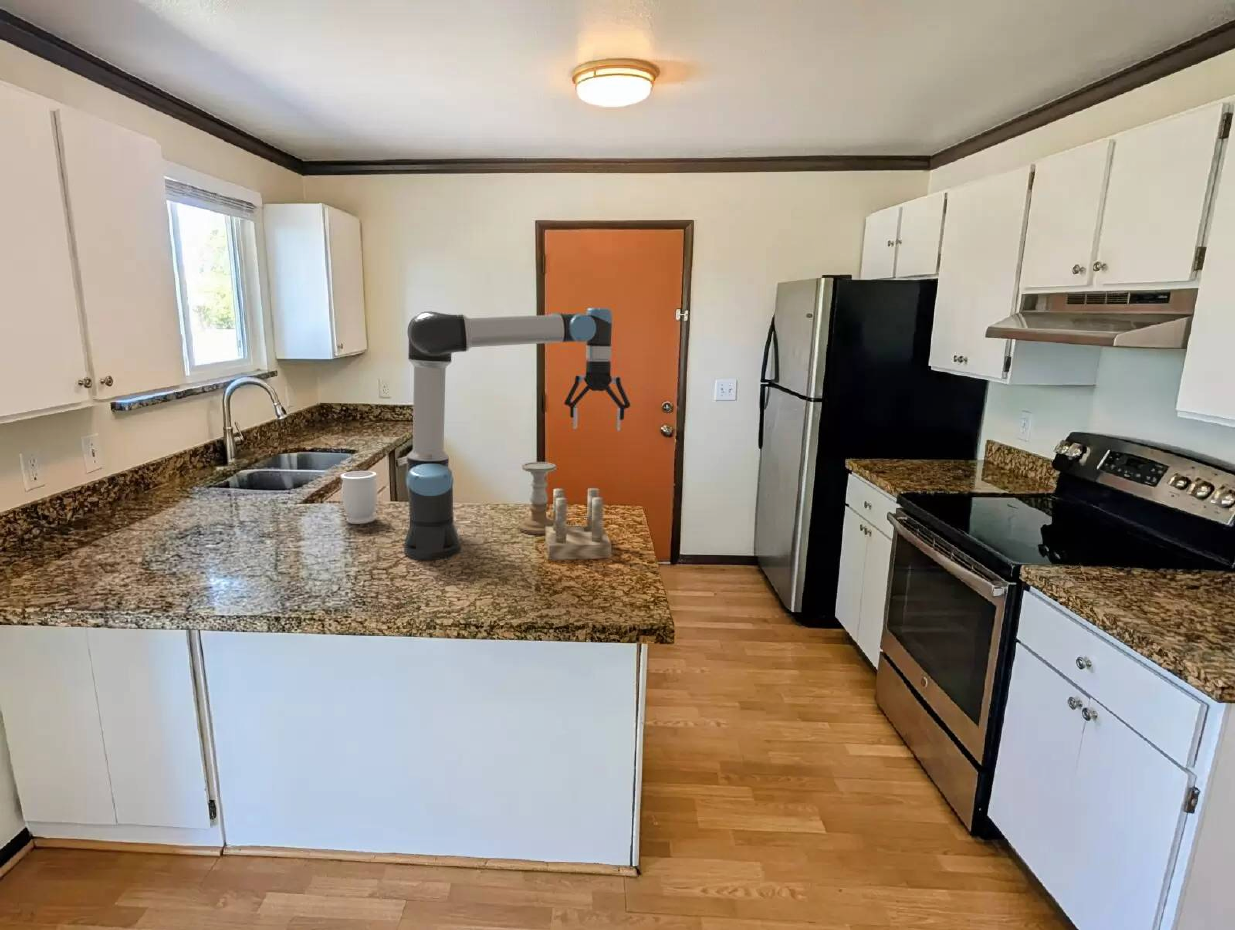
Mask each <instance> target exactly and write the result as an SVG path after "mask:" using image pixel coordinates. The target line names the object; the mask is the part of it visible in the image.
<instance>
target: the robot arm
mask: <svg viewBox="0 0 1235 930" xmlns="http://www.w3.org/2000/svg"><path fill="white" fill-rule="evenodd" d="M612 330H613V314H612V310H611V309H609V308H602V307H601V308H597V307H589V308H587V311H586V313H560V312H558V313H551V314H547V315H546V314H544V315H542V314H541V315H520V316H519V315H518V316H517V315H516V316H496V317H495V316H493V317H491V316H490V317H489V316H488V317H470V318H469V317H467V316H466V315H465V314H450V313H442V312H441V313H440V312H437V311H431V310H430V311H429V310H428V311H421V312H420V313H417V314H416V315H414V317H412V318H411V320H410V322H409V323H408V326H407V337H408V351H407V352H408V354H407V355H408V361H409V362H410V364H412V366H413V402H412V403H413V404H412V405H413V409H412V416H413V417H412V420H413V421H412V425H413V426H412V449H411V451H409V453H408V454H407V455H406V473H405V484H406V487H407V495H408V510H409V511H408V512H409V513H408V514H409V526H408V530H407V533H406V536H405V540H404V543H403V553H404V555H405V556H406V557H408V558H410V559H414V560H421V561H423V560H424V561H425V560H426V561H428V560H429V561H431V560H432V561H433V560H440V559H441V560H442V559H446V558H449V557H450V558H451V557H453V556H455V555H457V554H459V553H460V552H461V545H462V543H461V539H460V536H459V533H458V530H457V528H456V526H455V525H456V524H455V523H454V522H455V521H454V489H453V488H454V477H453V473H452V470H451V468H450V467H449V463H450V456H449V455H448V453H446V452H445V448H444V447H445V444H444V442H445V441H444V440H445V413H446V411H445V409H446V408H445V407H446V406H445V405H446V403H445V402H446V369H447V367H448V366H449V365H450V364H451V363H452V354H453V353H460V352H461V353H464V352H465V353H466V352H468V351H469V350H470V349H471V348H481V347H496V346H498V347H500V346H515V345H516V346H517V345H535V344H536V345H537V344H538V345H539V344H552V343H575V342H576V343H577V342H578V343H585V342H586V348H585V349H586V351H585V357H586V359H587V360H586V361H585V375H584V376H582V375H579V374H578V375H576V376H575V379H574V384H573V385H572V387H571V389H570V391H569V393H568V395H567V397H566V399H565V401H564V405H565V406H568V407H569V408H570V410H569V416H570V418H572V419H573V421H572V422H573V424H572V425H573V426H572V428H573V430H576V429H577V428H578V406H576V405H577V404H578V403H579V402H580V401H581V400H582V398H583V397H584V396H585V395H586V394H587V393H588V392H589V391H592V392H595V391H599V392H604V391H605V392H606V394H608V395H609V397H611V398H610V399H612V400H613V402H614V403H615V404H616V405H617V406H618V408H617V416H616V420H617V421H616V431H617V432H619V431H620V430H621V421H623V420H624V419H625V409H629V408H630V407H631V403H630V401H629V398H628V397H627V394H626V392H625V389H624V387H623V385H622V379H621V376H616V377H612V376H611V369H612V368H611V366H612V364H611V363H612V362H611V361H610V360H611V359H612V336H613V335H612V332H613V331H612ZM583 381H584V383H586V386H585V387H584V388H583V390H582V391H581V392H580V393H579V394H578V395H577V396H576V397H575V398H574V400H572V399H573V397H574V395H575V393H576V391H577V389H578V388H579V386H580V384H581V383H582V382H583ZM612 382H613V384H614V385H615V386H616V387H617V390H618V392H619V394H620V397H621V398H622V401H623V402H622V401H621V400H620V398H619V396H618V395H616V394H615V392H614V391H613V389H612V388H611V387H610V384H611V383H612ZM571 400H572V401H571Z"/></svg>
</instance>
